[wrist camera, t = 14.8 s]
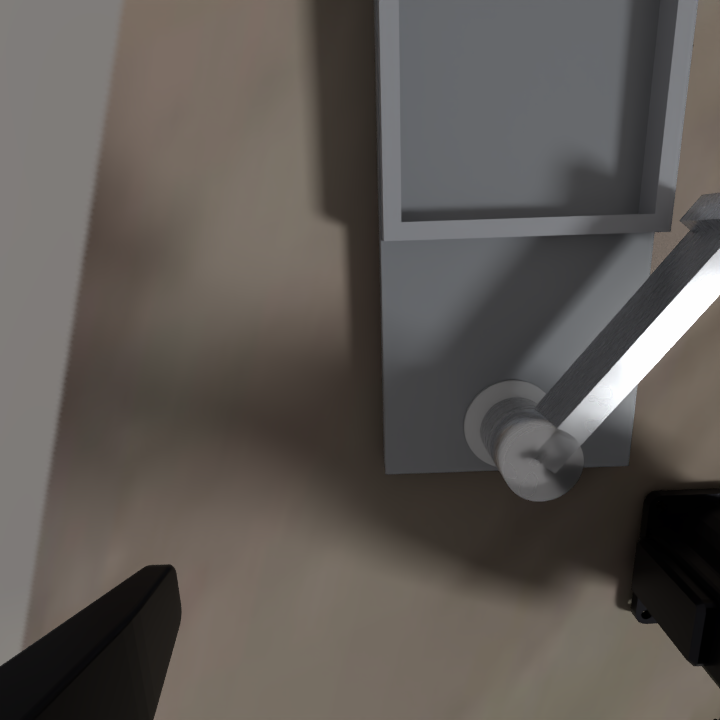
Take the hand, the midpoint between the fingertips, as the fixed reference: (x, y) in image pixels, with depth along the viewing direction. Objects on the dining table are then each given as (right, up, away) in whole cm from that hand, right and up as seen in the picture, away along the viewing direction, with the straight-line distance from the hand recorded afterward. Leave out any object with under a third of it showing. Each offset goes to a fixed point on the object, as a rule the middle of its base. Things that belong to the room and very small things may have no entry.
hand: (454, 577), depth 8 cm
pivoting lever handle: (+7, +4, +10) cm, 13 cm away
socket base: (+4, +12, +10) cm, 16 cm away
